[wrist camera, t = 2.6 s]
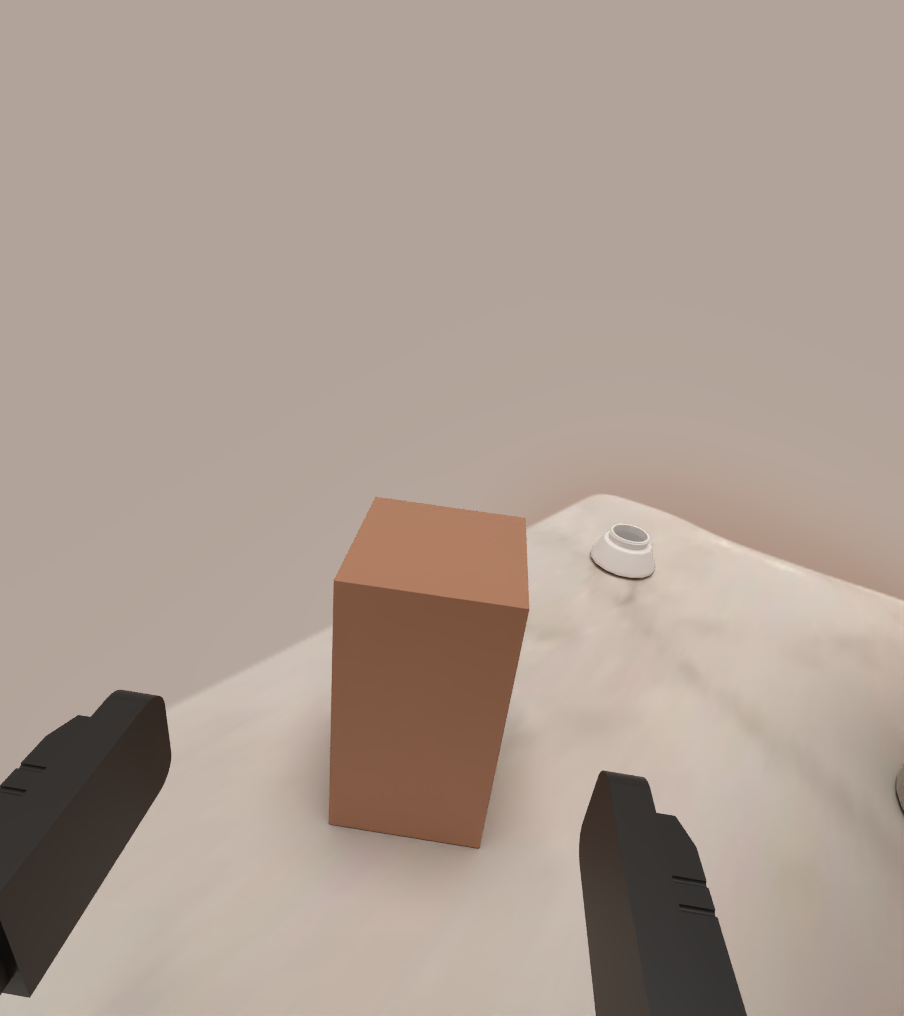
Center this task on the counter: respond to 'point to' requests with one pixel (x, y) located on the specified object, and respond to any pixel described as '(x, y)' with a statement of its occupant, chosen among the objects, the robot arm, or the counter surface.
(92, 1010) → the counter surface
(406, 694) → the brown rectangular block
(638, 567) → the lidless jar
